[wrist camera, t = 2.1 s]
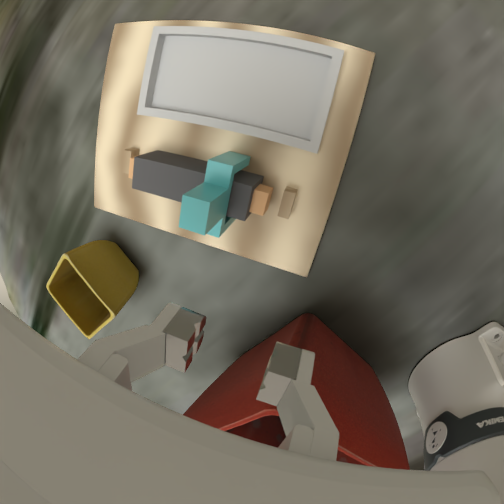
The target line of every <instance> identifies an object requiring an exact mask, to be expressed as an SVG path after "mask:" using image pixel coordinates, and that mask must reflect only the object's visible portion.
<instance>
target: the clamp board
mask: <svg viewBox="0 0 504 504" xmlns="http://www.w3.org/2000/svg"><path fill="white" fill-rule="evenodd" d="M154 26H197V27H215V28H228V29H238V30H247V31H254V32H261V33H268V34H274V35H280V36H286V37H291V38H296V39H301V40H305V41H310V42H314V43H318V44H322V45H326V46H330V47H334V48H338V49H341V50H344V55H343V59H342V63H341V67H340V71H339V75H338V79H337V83H336V87H335V91H334V95H333V98H332V102H331V106H330V110H329V114H328V117H327V121H326V125H325V128H324V132H323V136H322V139H321V143H320V147H319V150H318V153H317V154H316V153H313V152H309V151H306V150H303V149H299V148H296V147H292V146H289V145H285V144H281V143H278V142H274V141H270V140H266V139H262V138H258V137H254V136H250V135H246V134H242V133H237V132H233V131H228V130H224V129H219V128H214V127H209V126H204V125H199V124H194V123H188V122H183V121H177V120H171V119H165V118H158V117H152V116H145V115H137V110H138V103H139V96H140V90H141V85H142V79H143V74H144V68H145V63H146V58H147V54H148V49H149V44H150V40H151V36H152V32H153V27H154ZM374 56H375V53H373V52H370V51H367V50H364V49H361V48H357V47H354V46H351V45H347V44H344V43H340V42H337V41H333V40H329V39H325V38H321V37H317V36H313V35H308V34H304V33H299V32H294V31H288V30H283V29H277V28H271V27H264V26H257V25H249V24H240V23H229V22H215V21H191V20H166V21H143V22H129V23H119V24H115V27H114V31H113V35H112V40H111V44H110V49H109V54H108V59H107V64H106V70H105V76H104V82H103V89H102V96H101V103H100V112H99V121H98V131H97V144H96V160H95V190H94V207H96V208H99V209H102V210H105V211H108V212H111V213H114V214H117V215H120V216H123V217H126V218H129V219H132V220H135V221H138V222H141V223H144V224H147V225H150V226H152V227H155V228H158V229H161V230H164V231H167V232H170V233H173V234H176V235H179V236H182V237H185V238H188V239H191V240H195V241H198V242H201V243H204V244H207V245H210V246H213V247H216V248H219V249H222V250H225V251H228V252H231V253H234V254H237V255H240V256H243V257H246V258H249V259H252V260H255V261H258V262H261V263H264V264H267V265H270V266H274V267H277V268H280V269H283V270H286V271H289V272H292V273H295V274H298V275H301V276H304V277H307V275H308V272H309V270H310V267H311V264H312V262H313V259H314V256H315V253H316V250H317V248H318V245H319V242H320V239H321V236H322V233H323V230H324V228H325V225H326V222H327V219H328V216H329V213H330V210H331V207H332V204H333V201H334V198H335V195H336V191H337V188H338V185H339V182H340V179H341V176H342V173H343V169H344V166H345V163H346V160H347V156H348V153H349V150H350V146H351V143H352V139H353V136H354V132H355V129H356V125H357V122H358V118H359V115H360V111H361V107H362V104H363V100H364V96H365V92H366V89H367V85H368V81H369V77H370V73H371V69H372V65H373V60H374ZM156 150H160V151H165V152H170V153H174V154H179V155H183V156H187V157H192V158H196V159H200V160H204V161H208V159H211V158H213V157H216V156H218V155H221V154H223V153H226V152H228V151H231V152H235V153H239V154H243V155H247V156H251V157H250V162H249V165H248V166H246V167H245V168H243V169H242V170H243V171H247V172H251V173H254V174H258V175H262V176H264V178H263V182H262V185H266V186H269V187H273V191H272V195H271V199H270V203H269V207H268V210H267V211H266V212H265V214H264V215H263V216H261V215H258V214H254V213H251V214H250V215H249V217H248V218H247V219H246V220H245V221H241V220H238V219H236V220H235V221H234V222H233V223H232V224H231V225H230V226H229V227H228V228H227V230H226V231H225V232H224V233H223V234H222V235H221V236H220V237H219V238H218V237H214V236H211V235H208V234H206V235H205V236H204V235H201V234H198V233H195V232H192V231H189V230H186V229H183V228H180V227H179V219H180V211H181V203H182V202H178V201H175V200H171V199H168V198H164V197H161V196H157V195H154V194H150V193H147V192H143V191H140V190H136V189H133V188H132V179H131V178H128V177H129V164H130V158H131V157H135V156H138V155H141V154H145V153H149V152H152V151H156Z"/></svg>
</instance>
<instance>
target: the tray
mask: <svg viewBox="0 0 504 504" xmlns="http://www.w3.org/2000/svg"><path fill="white" fill-rule="evenodd" d="M343 55H344V50H341V49H338V48H334V47H330V46H326V45H322V44H318V43H314V42H310V41H305V40H301V39H296V38H291V37H286V36H280V35H274V34H268V33H261V32H254V31H247V30H238V29H228V28H215V27H197V26H154V27H153V32H152V36H151V40H150V44H149V49H148V54H147V58H146V63H145V68H144V74H143V79H142V85H141V90H140V96H139V103H138V110H137V115H145V116H152V117H158V118H165V119H171V120H177V121H183V122H188V123H194V124H199V125H204V126H209V127H214V128H219V129H224V130H228V131H233V132H237V133H242V134H246V135H250V136H254V137H258V138H262V139H266V140H270V141H274V142H278V143H281V144H285V145H289V146H292V147H296V148H299V149H303V150H306V151H309V152H313V153H316V154H317V153H318V150H319V147H320V143H321V139H322V136H323V132H324V128H325V125H326V121H327V117H328V114H329V110H330V106H331V102H332V98H333V95H334V91H335V87H336V83H337V79H338V75H339V71H340V67H341V63H342V59H343Z"/></svg>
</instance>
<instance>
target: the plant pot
mask: <svg viewBox="0 0 504 504" xmlns="http://www.w3.org/2000/svg"><path fill="white" fill-rule="evenodd" d="M277 341H278V342H281V343H284V344H287V345H291V346H294V347H297V348H300V349H304V350H308V351H311V352H314V353H315V359H314V366H313V372H312V379H311V385H313V386H314V387H315V388H316V390H317V392H318V394H319V396H320V398H321V400H322V402H323V403H324V405H325V407H326V409H327V411H328V413H329V415H330V417H331V418H332V420H333V422H334V424H335V426H336V428H337V430H338V431H339V442H338V450H337V458H336V461H339V462H345V463H351V464H358V465H365V466H373V467H382V468H392V469H404V470H410V469H409V464H408V459H407V455H406V451H405V447H404V443H403V439H402V436H401V433H400V429H399V426H398V423H397V420H396V418H395V415H394V412H393V410H392V407H391V405H390V403H389V400H388V398H387V396H386V394H385V391H384V389H383V387H382V385H381V384H380V382H379V380H378V378H377V376H376V374H375V372H374V371H373V369H372V367H371V366H370V365H369V364H368V363H367V362H365V361H364V360H363V359H362V358H361V357H360V356H359V355H358V354H357V353H356V352H355V351H354V350H352V349H351V348H350V347H349V346H348V345H347V344H346V343H345V342H344V341H342V340H341V339H340V338H339V337H338V336H337V335H336V334H335V333H334V332H332V331H331V330H330V329H329V328H328V327H327V326H326V325H325V324H324V323H323V322H322V321H320V320H319V319H318V318H317V317H316V316H315V315H313V314H310V313H306V314H302V315H301V316H299V317H298V318H296V319H295V320H293V321H292V322H291V323H289V324H288V325H286V326H285V327H283V328H282V329H280V330H279V331H278V332H276V333H275V334H273V335H272V336H270V337H269V338H267V339H266V340H264V341H263V342H261V343H260V344H258V345H257V346H255V347H254V348H252V349H251V350H249V351H248V352H246V353H245V354H243V355H242V356H241V357H240V358H238V359H237V360H236V361H235V362H234V363H233V364H232V365H231V366H230V367H229V368H228V369H227V370H226V371H225V372H224V373H222V374H221V375H220V376H219V377H218V378H217V379H216V380H215V381H214V382H213V383H212V384H211V385H210V386H209V387H208V388H207V389H206V390H205V391H204V392H203V393H202V394H201V395H200V397H199V398H198V399H197V400H196V401H195V402H194V403H193V404H192V405H191V406H190V407H189V409H188V410H187V411H186V412H185V413H184V414H183V415H184V416H186V417H189V418H191V419H194V420H196V421H199V422H201V423H204V424H206V425H209V426H212V427H214V428H217V429H220V430H223V431H225V432H228V433H231V434H234V435H237V436H240V437H243V438H246V439H249V440H253V441H256V442H259V443H263V444H266V445H270V446H273V447H277V448H278V447H279V446H280V444H281V443H282V442H283V441H284V439H285V438H286V435H285V432H284V429H283V425H282V422H281V419H280V416H279V413H278V410H277V406H274V405H271V404H268V403H265V402H262V401H259V400H256V398H257V395H258V391H259V388H260V385H261V383H262V381H263V376H264V373H265V370H266V367H267V365H268V362H269V359H270V357H271V355H272V353H273V350H274V347H275V344H276V342H277Z"/></svg>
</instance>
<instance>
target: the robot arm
mask: <svg viewBox="0 0 504 504" xmlns="http://www.w3.org/2000/svg"><path fill="white" fill-rule="evenodd" d="M205 323H206V316H204V315H201V314H199V313H196V312H194V311H192V310H189V309H187V308H184V307H181V306H179V305H177V304H174V303H172V302H170V303H169V304H167V306H166V307H165V308H164V309H163V310H162V312H161V313H160V314H159V315H158V316H157V318H156V319H155V320H154V321H153V322H152V324H151V325H150V326H148V325H144V326H141V327H138V328H134V329H131V330H128V331H125V332H121V333H118V334H115V335H111V336H108V337H105V338H101V339H98V340H95V341H94V342H93V343H92V344H91V345H90V347H89V348H88V349H87V350H86V351H85V352H84V353H83V354H82V355H81V356H80V357H79V358H78V360H77V359H75V358H74V357H72V356H71V355H69V354H68V353H66V352H64V351H63V350H61V349H60V348H59V347H57V346H56V345H54V344H53V343H51V342H50V341H48V340H47V339H46V338H44V337H43V336H41V335H40V334H39V333H37V332H36V331H35V330H33V329H32V328H31V327H29V326H28V325H27V324H25V323H24V322H23V321H22V320H20V319H19V318H18V317H16V316H15V315H14V314H13V313H11V312H10V311H9V310H8V309H7V308H5V307H4V306H3V305H2V304H1V303H0V504H504V327H502V326H501V325H500V324H498V323H497V322H491V323H489V324H487V325H485V326H483V327H482V328H480V329H479V330H477V331H476V332H475V333H472V334H470V335H467V336H463V337H460V338H457V339H454V340H451V341H449V342H447V343H445V344H443V345H441V346H440V347H438V348H436V349H435V350H433V351H432V352H431V353H429V354H428V355H427V356H426V357H425V358H424V359H423V360H422V361H421V362H420V363H419V364H418V365H417V366H416V368H415V369H414V370H413V372H412V374H411V376H410V379H409V383H408V390H409V393H410V395H411V397H412V399H413V401H414V404H415V406H416V412H417V415H418V417H419V419H420V423H421V427H422V431H423V435H424V439H425V440H424V469H425V471H422V470H404V469H392V468H382V467H373V466H365V465H358V464H351V463H345V462H339V461H336V458H337V450H338V442H339V431H338V430H337V428H336V426H335V424H334V422H333V420H332V418H331V417H330V415H329V413H328V411H327V409H326V407H325V405H324V403H323V402H322V400H321V398H320V396H319V394H318V392H317V390H316V388H315V387H314V386H313V385H311V379H312V372H313V366H314V359H315V353H314V352H311V351H308V350H304V349H300V348H297V347H294V346H291V345H287V344H284V343H281V342H278V341H277V342H276V344H275V347H274V350H273V353H272V355H271V357H270V359H269V362H268V365H267V367H266V370H265V373H264V376H263V381H262V383H261V385H260V388H259V391H258V395H257V398H256V400H259V401H262V402H265V403H268V404H271V405H274V406H277V410H278V413H279V416H280V419H281V422H282V425H283V429H284V432H285V435H286V438H285V439H284V441H283V442H282V443H281V444H280V446H279V447H278V448H277V447H273V446H270V445H266V444H263V443H259V442H256V441H253V440H249V439H246V438H243V437H240V436H237V435H234V434H231V433H228V432H225V431H223V430H220V429H217V428H214V427H212V426H209V425H206V424H204V423H201V422H199V421H196V420H194V419H191V418H189V417H186V416H184V415H182V414H179V413H177V412H175V411H173V410H170V409H168V408H166V407H164V406H161V405H159V404H157V403H155V402H153V401H151V400H149V399H147V398H145V397H143V396H141V395H139V394H137V393H135V392H133V391H132V386H131V382H133V381H135V380H137V379H139V378H141V377H143V376H146V375H148V374H150V373H152V372H154V371H156V370H157V369H159V368H161V367H163V366H165V365H167V366H169V367H171V368H174V369H176V370H179V371H181V372H184V373H185V371H186V370H187V368H188V366H189V365H190V363H191V361H192V355H193V354H196V353H197V351H198V349H199V347H200V345H201V342H202V339H203V335H204V331H203V327H204V325H205Z"/></svg>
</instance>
